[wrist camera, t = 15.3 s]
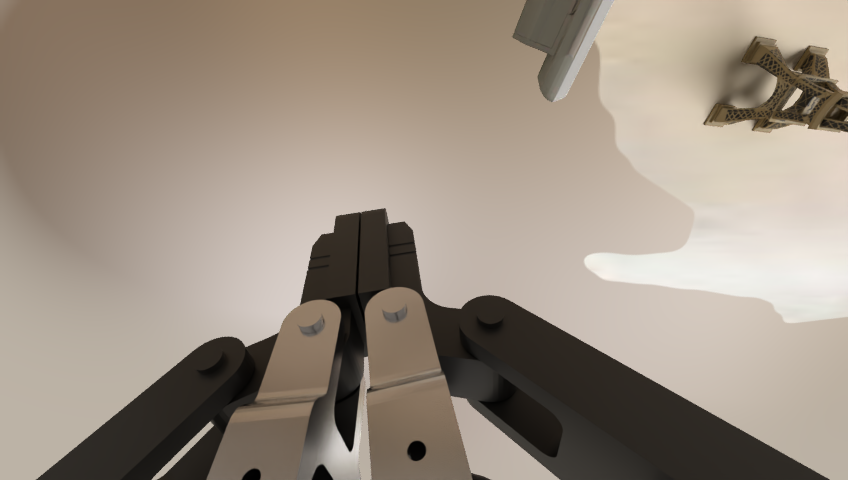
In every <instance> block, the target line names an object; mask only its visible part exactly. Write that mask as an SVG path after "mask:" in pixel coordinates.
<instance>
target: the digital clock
mask: <svg viewBox="0 0 848 480" xmlns="http://www.w3.org/2000/svg"><path fill="white" fill-rule="evenodd" d="M613 2H614V0H527V1H526V4H525V6H524V9H523V11H522V14H521V16H520V19H519V21H518V24H517V26H516V29H515V33H514V35H513V38H515V39H517V40H519V41H520V42H522V43H524V44H526V45H528V46H531V47H533V48H536V49H538V50H541V51H543V52H546V53H548V54H547V57H546V58H545V61H544V63H543V65H542V67H541V70H540V72H539V75H538V81H539V86H540V90H541V92H542V94H543V96H544V97H545V98H546V99H547V100H549V101H551V102H553V101H557V100H560V99H563V98H564V97H565V96H566V95H567V93H568V91H569V89H570V87H571V85H572V83H573V81H574V79H575V77H576V75H577V73H578V71H579V69H580V67H581V65H582V63H583V61H584V59H585V57H586V55H587V53H588V51H589V49H590V47H591V45H592V43H593V42H594V40H595V38H596V36H597V34H598V32H599V30H600V28H601V26H602V24H603V22H604V20H605V18H606V16H607V14H608V12H609V10H610V8H611V6H612V4H613Z"/></svg>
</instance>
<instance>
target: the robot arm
mask: <svg viewBox="0 0 848 480" xmlns="http://www.w3.org/2000/svg"><path fill="white" fill-rule="evenodd" d="M367 356H368V360H369V371H370V372H369V373H370V388H369V389H367V396H366V398H367V415H368V431H369V446H370V460H371V476H372V480H490V479H488V478H486V477H483V476H480V475H476V474H473V473H471V471H470V468H469V464H468V460H467V456H466V453H465V449H464V445H463V442H462V438H461V434H460V430H459V426H458V423H457V419H456V415H455V412H454V408H453V404H452V400H451V396H454V397H460V398H466V399H467V400H468V402H469V403H470V405H471V406H472V407H473V408H475V409H476V410H477V411H478V412H479V413H481V414H482V415H483V416H484V417H485V418H487V419H488V420H489V421H490V422H492V423H493V424H494V425H495V426H496V427H497V428H499V429H500V430H501V431H502V432H503V433H505V434H506V435H507V436H508V437H509V438H511V439H512V440H513V441H514V442H515V443H517V444H518V445H519V446H520V447H521V448H523V449H524V450H525V451H526V452H528V453H529V454H530V455H531V456H532V457H534V458H535V459H536V460H537V461H538V462H540V463H541V464H542V465H543V466H544V467H546V468H547V469H548V470H549V471H550V472H552V473H553V474H554V475H555V476H556V477H558V478H559V479H560V480H829V479H828V478H826V477H824V476H822V475H820V474H819V473H817V472H815V471H813V470H812V469H810V468H808V467H806V466H804V465H802V464H801V463H799V462H797V461H795V460H793V459H792V458H790V457H788V456H786V455H785V454H783V453H781V452H779V451H778V450H775V449H774V448H772V447H770V446H769V445H767V444H765V443H763V442H761V441H760V440H758V439H756V438H754V437H752V436H751V435H749V434H747V433H745V432H744V431H742V430H740V429H738V428H736V427H735V426H733V425H731V424H729V423H727V422H726V421H724V420H722V419H720V418H719V417H717V416H715V415H713V414H711V413H709V412H708V411H706V410H704V409H702V408H701V407H699V406H697V405H695V404H693V403H692V402H690V401H688V400H686V399H684V398H683V397H681V396H679V395H677V394H675V393H674V392H672V391H670V390H668V389H667V388H665V387H663V386H661V385H660V384H658V383H656V382H654V381H652V380H650V379H649V378H647V377H645V376H643V375H642V374H640V373H638V372H636V371H634V370H633V369H631V368H629V367H627V366H625V365H624V364H622V363H620V362H618V361H617V360H615V359H613V358H611V357H609V356H608V355H606V354H604V353H602V352H600V351H598V350H597V349H595V348H593V347H592V346H590V345H588V344H586V343H584V342H583V341H581V340H579V339H577V338H576V337H574V336H572V335H570V334H568V333H566V332H565V331H563V330H561V329H559V328H558V327H556V326H554V325H552V324H550V323H549V322H547V321H545V320H543V319H542V318H540V317H538V316H536V315H534V314H533V313H531V312H529V311H527V310H525V309H523V308H522V307H520V306H518V305H516V304H515V303H513V302H511V301H509V300H507V299H505V298H502V297H499V296H492V295H487V296H480V297H476V298H474V299H472V300H470V301H468V302H467V303H466V304H465V305H464V306H463V307H462V309H456V308H447V307H442V306H439V305H437V304H434V303H433V302H431V301H430V300H429V299H428V298H427V297H426V296H425V295H424V293H423V291H422V286H421V280H420V274H419V267H418V261H417V255H416V248H415V243H414V235H413V230H412V229H411V228H410V227H409V226H408V225H407V224H406V223H405V222H398V223H392V224H389V222H388V217H387V212H386V209H385V208H384V209H377V210H371V211H365V212H362V213H360V212H359V213H353V214H346V215H339V216H336V219H335V226H334V233H329V234H322V235H321V236H320V238H319V239H318V240H317V241H316V242H315V244H314V245H313V247H312V252H311V256H310V261H309V266H308V271H307V276H306V280H305V284H304V289H303V294H302V298H301V303H300V306H298V307H297V308H295V309H294V310H292V311H291V312H290V313H289V314H288V315H287V316H286V318H285V319H284V321H283V323H282V325H281V329H280V331H279V333H277V334H275V335H273V336H271V337H269V338H267V339H264V340H262V341H260V342H257V343H255V344H252V345H250V346H248V347H245V346H244V344H243V343H242V341H240V340H239V339H237V338H234V337H220V338H216V339H213V340H211V341H209V342H207V343H204V344H203V345H201V346H200V347H198V348H197V349H195V350H194V351H193V352H192V353H190V354H189V355H188V356H187V357H185V358H184V359H183V360H182V361H181V362H179V363H178V364H177V365H176V366H174V367H173V368H172V369H171V370H170V371H168V372H167V373H166V374H165V375H164V376H162V377H161V378H160V379H159V380H157V381H156V382H155V383H154V384H152V385H151V386H150V387H149V388H148V389H146V390H145V391H144V392H143V393H141V394H140V395H139V396H138V397H137V398H135V399H134V400H133V401H132V402H130V403H129V404H128V405H127V406H126V407H124V408H123V409H122V410H121V411H119V412H118V413H117V414H116V415H115V416H113V417H112V418H111V419H110V420H109V421H107V422H106V423H105V424H104V425H102V426H101V427H100V428H99V429H97V430H96V431H95V432H94V433H93V434H91V435H90V436H89V437H88V438H87V439H85V440H84V441H83V442H82V443H80V444H79V445H78V446H77V447H76V448H74V449H73V450H72V451H71V452H69V453H68V454H67V455H66V456H65V457H63V458H62V459H61V460H60V461H58V462H57V463H56V464H55V465H53V466H52V467H51V468H50V469H49V470H47V471H46V472H45V473H44V474H43V475H41V476H40V477H39V478H38V479H36V480H152V478H153V477H154V476H155V475H156V474H157V473H158V472H159V471H160V470H161V469H162V468H163V467H164V466H165V465H166V464H167V463H168V462H169V461H170V460H171V459H172V458H173V457H174V456H175V455H176V454H177V453H178V452H179V451H180V450H181V449H182V448H183V447H184V446H185V445H186V444H187V443H188V442H189V441H190V440H191V439H192V438H193V437H194V436H195V435H196V434H197V433H199V432H200V430H202V429H203V428H204V427H205V426H206V425H207V424H208V423H209V422H210V421H211V422H212V424H213V425H214V426H213V427H212V428H211V429H210V430H209V431H208V432H207V433H206V434H205V435H204V436H203V437H202V438H201V439H200V440H199V441H198V442H197V443H196V444H195V445H194V446H193V447H192V448H191V449H190V450H189V451H188V452H187V453H186V454H185V455H184V456H183V457H182V458H181V459H180V460H179V461H178V462H177V463H176V464H175V465H174V466H173V467H172V468H171V469H170V470H169V471H168V472H167V473H166V474H165V475H164V476H162V477H161V478H159V479H157V480H361V477H360V470H359V447H360V436H361V426H362V416H363V405H364V394H365V378H364V375H363V373H364V357H367Z"/></svg>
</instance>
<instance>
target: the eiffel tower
mask: <svg viewBox="0 0 848 480" xmlns="http://www.w3.org/2000/svg"><path fill="white" fill-rule="evenodd" d="M776 41H777V40H772V39H766V38H761V37H755V39H754V41H753V42H752V44H751V46H750V48H749V49H748V51H747V53H746V54H745V56H744V58H743V59H742V61H741V62H744V63H749V64H755V65H759V66H760V67H762V68H764V69H765V70H767V71H768V72H770V73H771V74H773V75H774V76H776V77H778V78H777V84H776V88H775V91H774V93H773V95H772V96H771V97H770V98H769V99H768V100H767V101H766V102H765V103H764V104H762V105H761V106H759V107H758V108H738V109H737V107H735V106H729V105H721V104H716V105H715V107H714V108H713V110H712V112H711V113H710V115H709V117H708V118H707V120H706V122H705V123H704V125H708V126H717V127H723V126H724V125H727V124H728V125H729V124H733V123H737V122H741V121H745V120H752V119H759V121H758V122H757V124H756V125H755V127H754V128H753V131H758V132H766V133H770V132H771V131H772V129H778V128H782V127H785V126H789V125H792V124H793V125H800V126H805V124H808V125H809V127H808V129H816V130H825V131H832V132H839V133H840V131H844V132H848V121H847V120H848V92H845V91H842V90H840V89H839V88H838V87H837V86H836V85H835V84H836V83H837V82H838V80H833V79H830V77H829V69H828V62H827V58H826V57H825V55H826V53H827V52H828V50H829V49H824V48H818V47H812V46H809V47H808V49H807V50H806V52H805V53H804V54H803V56H802V57H801V59H800V60H799V62H798V63H797V65H796V66H795V68H794V69H793V70H795V71H800V72H802V73H799V72H794V71H791V70H790V69H789V68H788V67H787V66H786V64H785V61H784V59H783V57H782V55H781V53H780V51H779V49H778V47H776V45H775V42H776ZM796 88H799V89H801V90H802V91H803V92H802V94H801V96H800V98H799V99H798V100H797V101H796V102H795V103H794V105H793V106H791V107H789V108H787V109H785V110H783V111H782V108H783V107H784V106H785V104H786V103H787V101H788V99H789V98H790V97H791V96H792V94H793V93H794V91H795V90H796Z"/></svg>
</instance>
